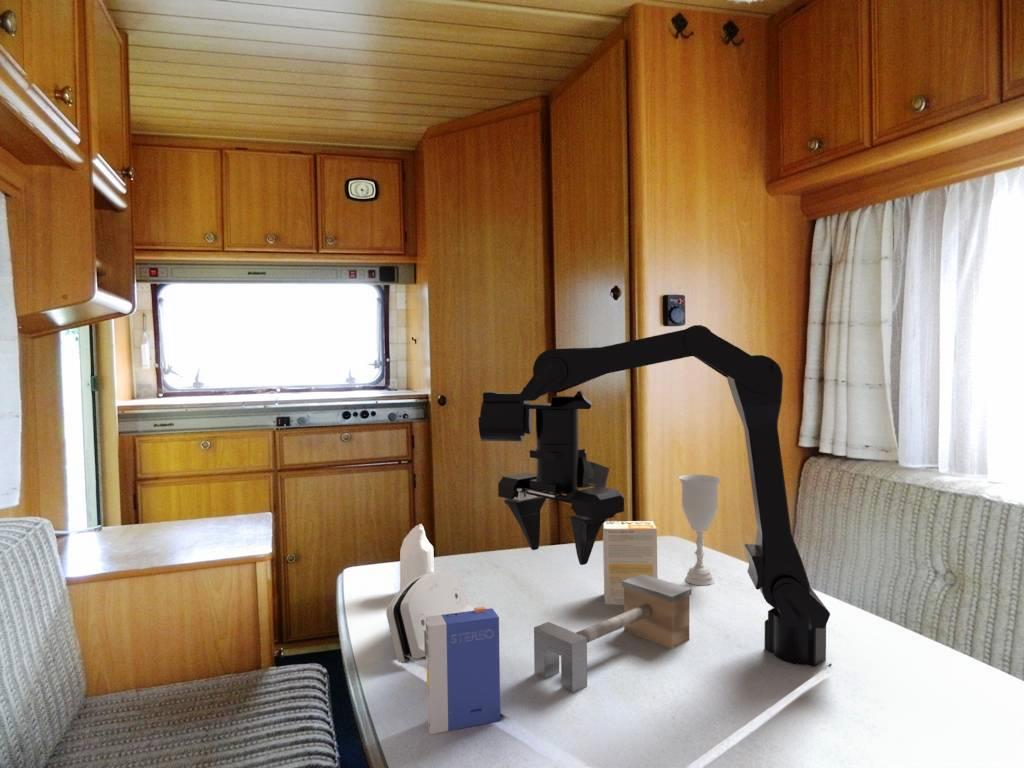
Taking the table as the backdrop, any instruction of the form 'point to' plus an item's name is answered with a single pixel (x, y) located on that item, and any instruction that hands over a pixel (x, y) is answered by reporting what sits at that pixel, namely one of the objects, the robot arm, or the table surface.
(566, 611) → the table surface
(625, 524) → the supplement box
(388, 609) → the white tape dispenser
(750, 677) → the table surface
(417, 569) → the white tall chunk
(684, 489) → the chalice
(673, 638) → the wooden mallet
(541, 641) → the metal u-shaped block
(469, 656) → the walkman
